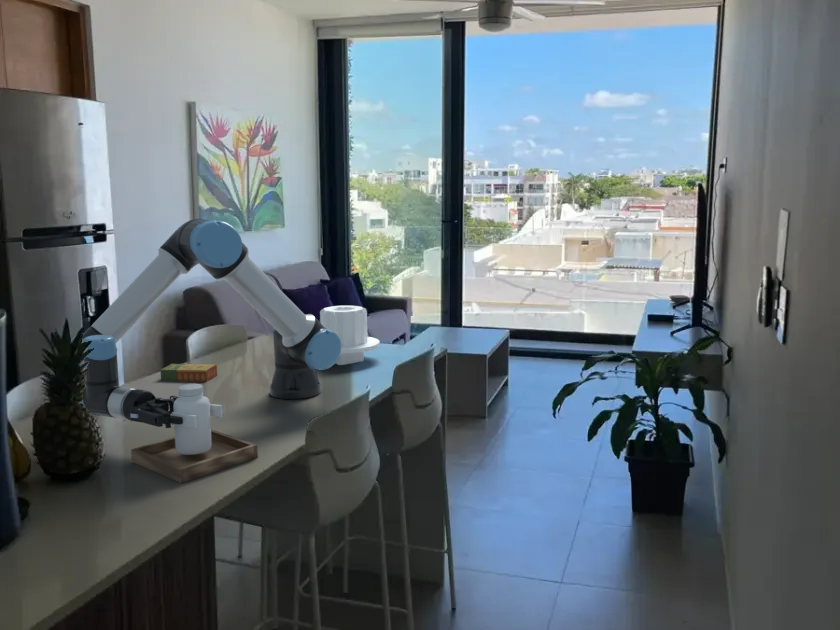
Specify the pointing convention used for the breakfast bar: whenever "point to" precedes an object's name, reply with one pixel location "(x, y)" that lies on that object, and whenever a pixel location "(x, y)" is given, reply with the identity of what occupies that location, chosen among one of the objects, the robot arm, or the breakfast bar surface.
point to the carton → (189, 372)
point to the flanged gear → (349, 331)
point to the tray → (194, 457)
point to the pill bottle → (197, 404)
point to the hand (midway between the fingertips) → (208, 416)
